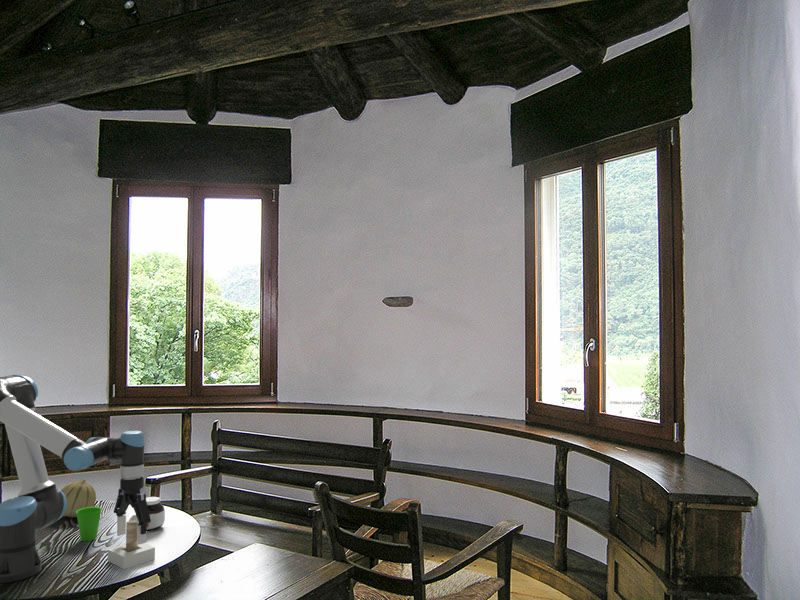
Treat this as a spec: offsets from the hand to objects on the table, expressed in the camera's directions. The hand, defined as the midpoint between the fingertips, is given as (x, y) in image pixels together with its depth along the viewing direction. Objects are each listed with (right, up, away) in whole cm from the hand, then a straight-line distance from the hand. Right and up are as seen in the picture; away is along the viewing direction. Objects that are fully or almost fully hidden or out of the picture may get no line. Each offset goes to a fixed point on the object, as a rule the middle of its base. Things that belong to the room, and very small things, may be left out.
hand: (131, 539), depth 218 cm
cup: (-25, -8, +20) cm, 33 cm away
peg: (0, -7, 0) cm, 7 cm away
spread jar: (-7, -8, +31) cm, 33 cm away
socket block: (0, -7, 0) cm, 7 cm away
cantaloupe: (-44, -9, +48) cm, 65 cm away
